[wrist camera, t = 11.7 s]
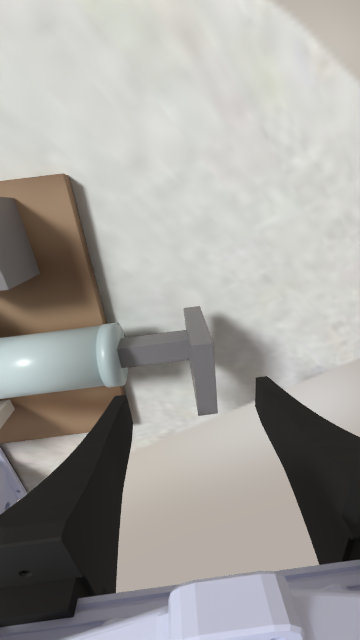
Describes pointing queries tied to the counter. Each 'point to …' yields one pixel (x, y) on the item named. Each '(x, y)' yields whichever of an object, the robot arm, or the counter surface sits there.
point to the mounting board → (52, 305)
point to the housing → (13, 263)
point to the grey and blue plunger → (105, 359)
